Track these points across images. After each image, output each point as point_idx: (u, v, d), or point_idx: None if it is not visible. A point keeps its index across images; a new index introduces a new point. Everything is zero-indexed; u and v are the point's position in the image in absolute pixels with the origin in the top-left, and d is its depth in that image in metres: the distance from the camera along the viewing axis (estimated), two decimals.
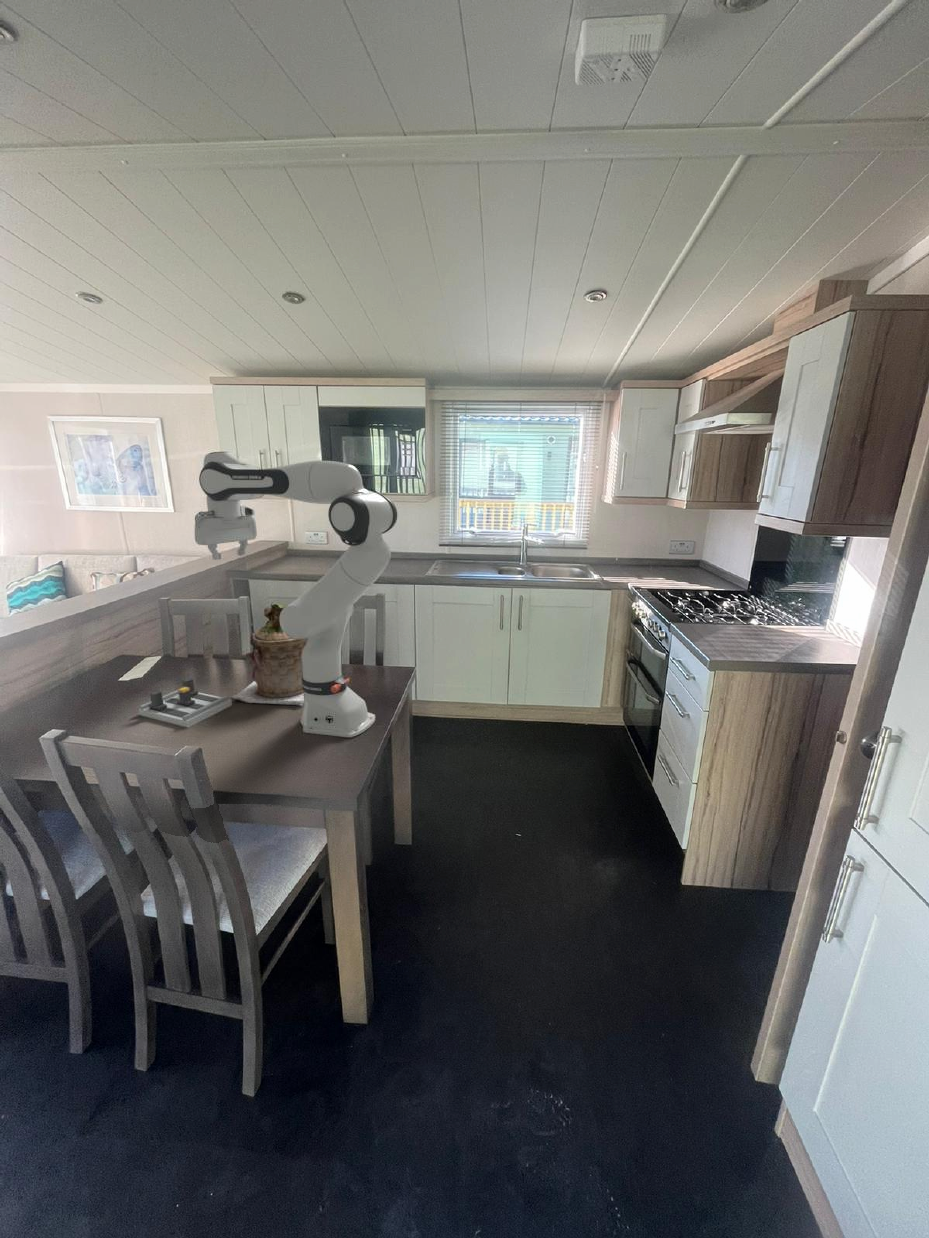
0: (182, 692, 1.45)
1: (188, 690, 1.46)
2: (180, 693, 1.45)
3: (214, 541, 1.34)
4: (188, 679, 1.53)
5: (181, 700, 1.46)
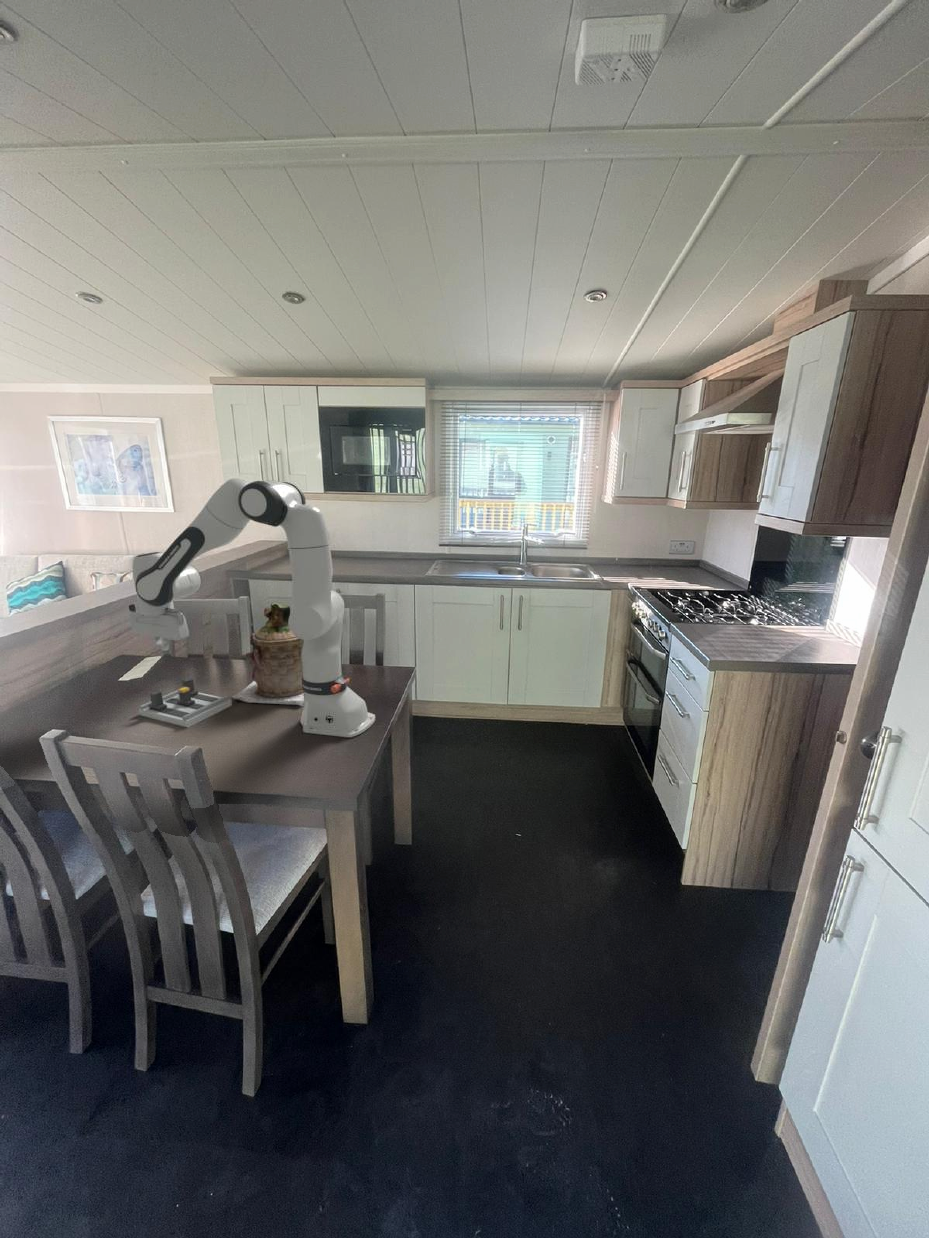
0: (182, 692, 1.45)
1: (188, 690, 1.46)
2: (180, 693, 1.45)
3: None
4: (188, 679, 1.53)
5: (181, 700, 1.46)
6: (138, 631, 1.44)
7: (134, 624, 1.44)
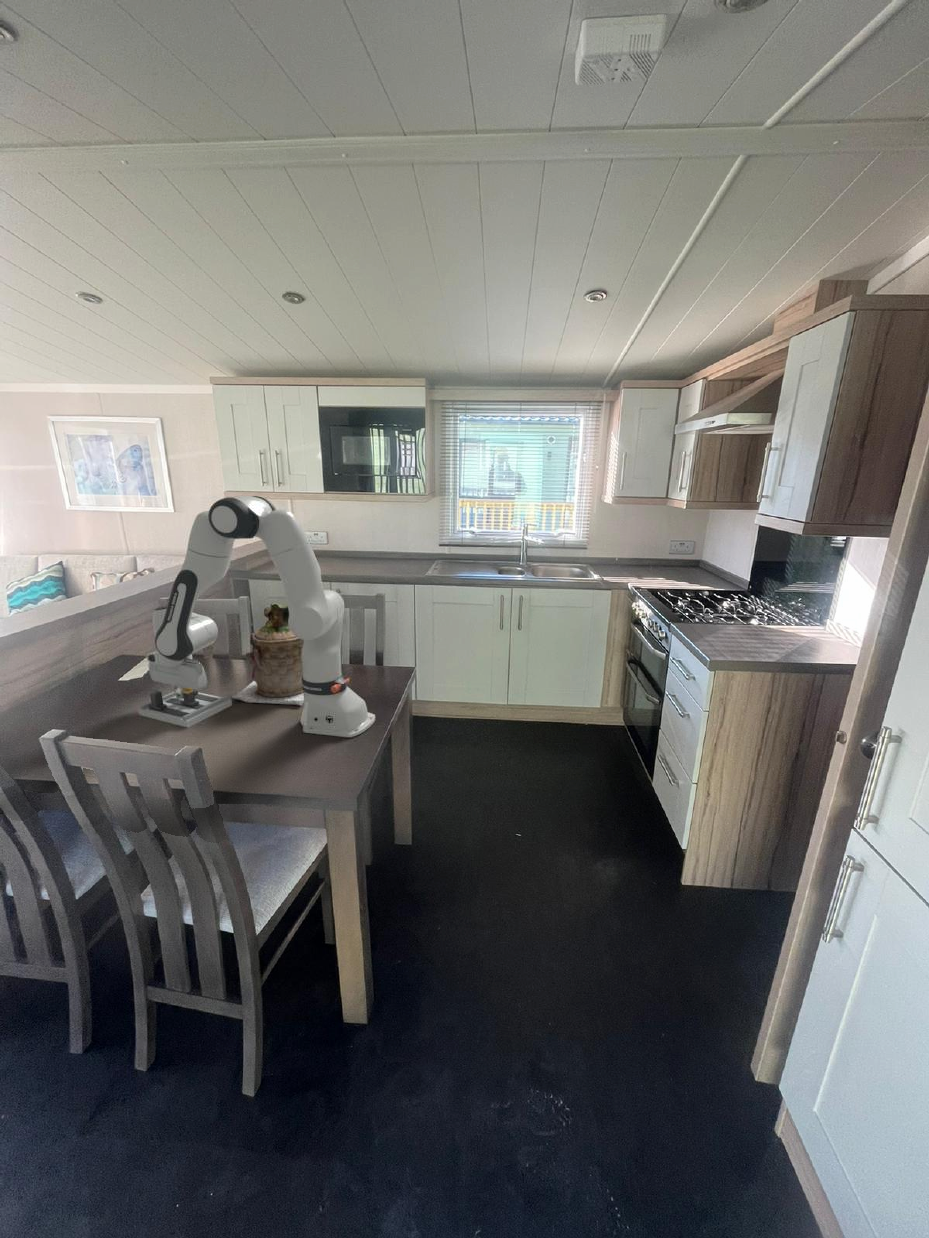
0: (186, 693, 1.44)
1: (192, 691, 1.46)
2: (184, 694, 1.45)
3: None
4: None
5: (185, 701, 1.46)
6: (157, 679, 1.47)
7: (153, 673, 1.47)
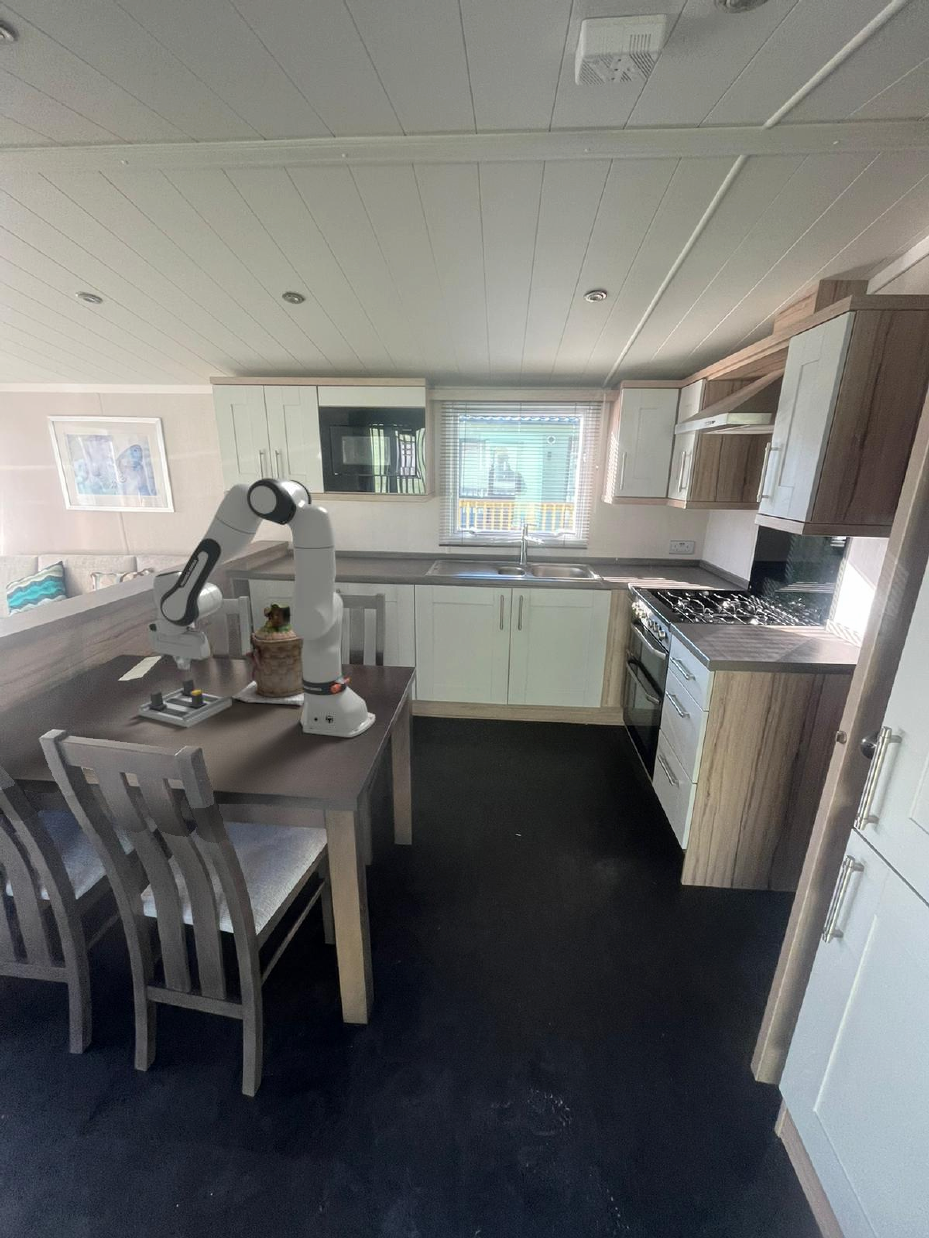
0: (194, 695, 1.43)
1: (200, 693, 1.45)
2: (192, 696, 1.44)
3: None
4: (188, 679, 1.53)
5: (193, 703, 1.44)
6: (159, 650, 1.43)
7: (155, 643, 1.43)
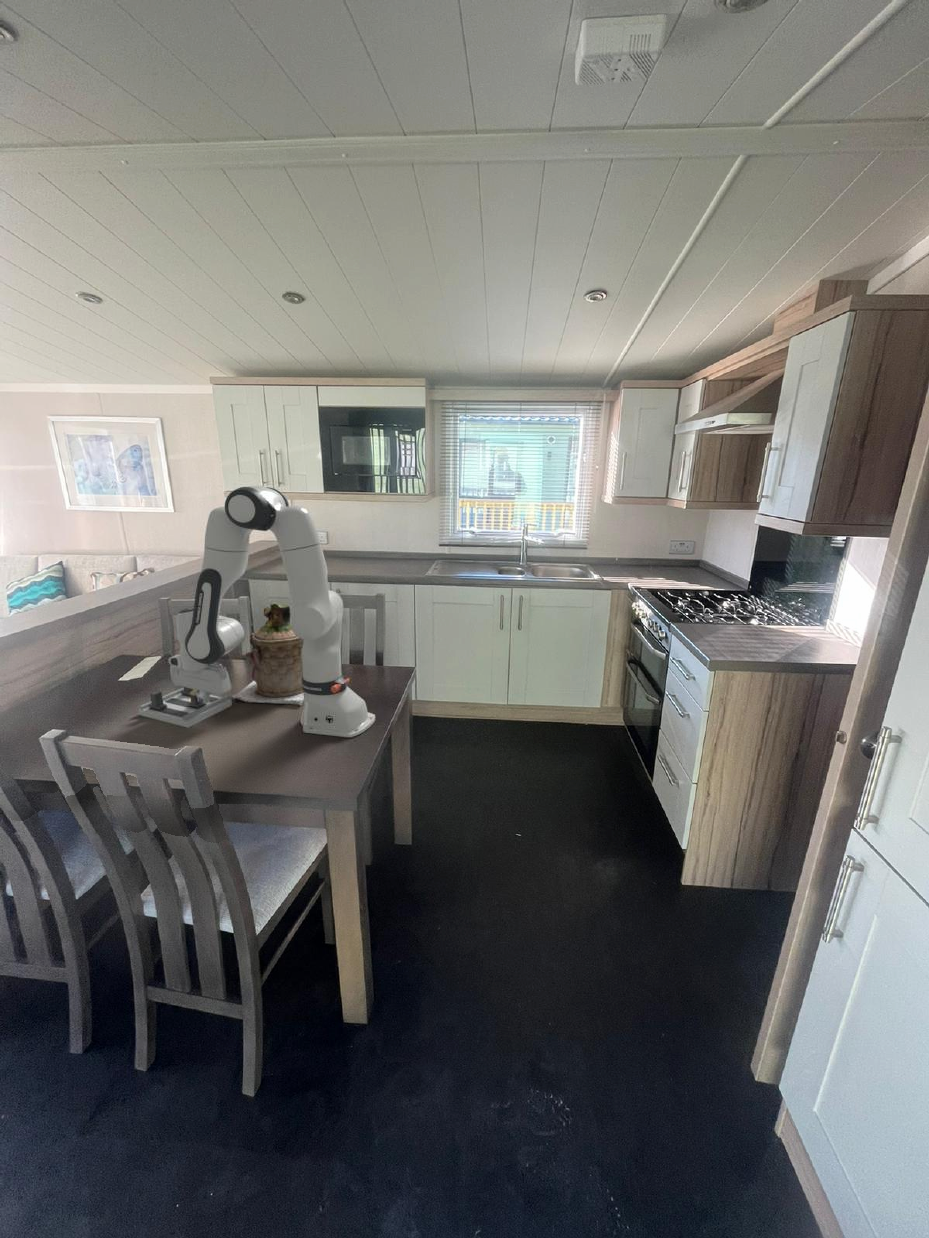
0: (193, 695, 1.43)
1: None
2: (191, 696, 1.44)
3: None
4: None
5: (192, 703, 1.45)
6: (179, 683, 1.43)
7: (175, 676, 1.43)
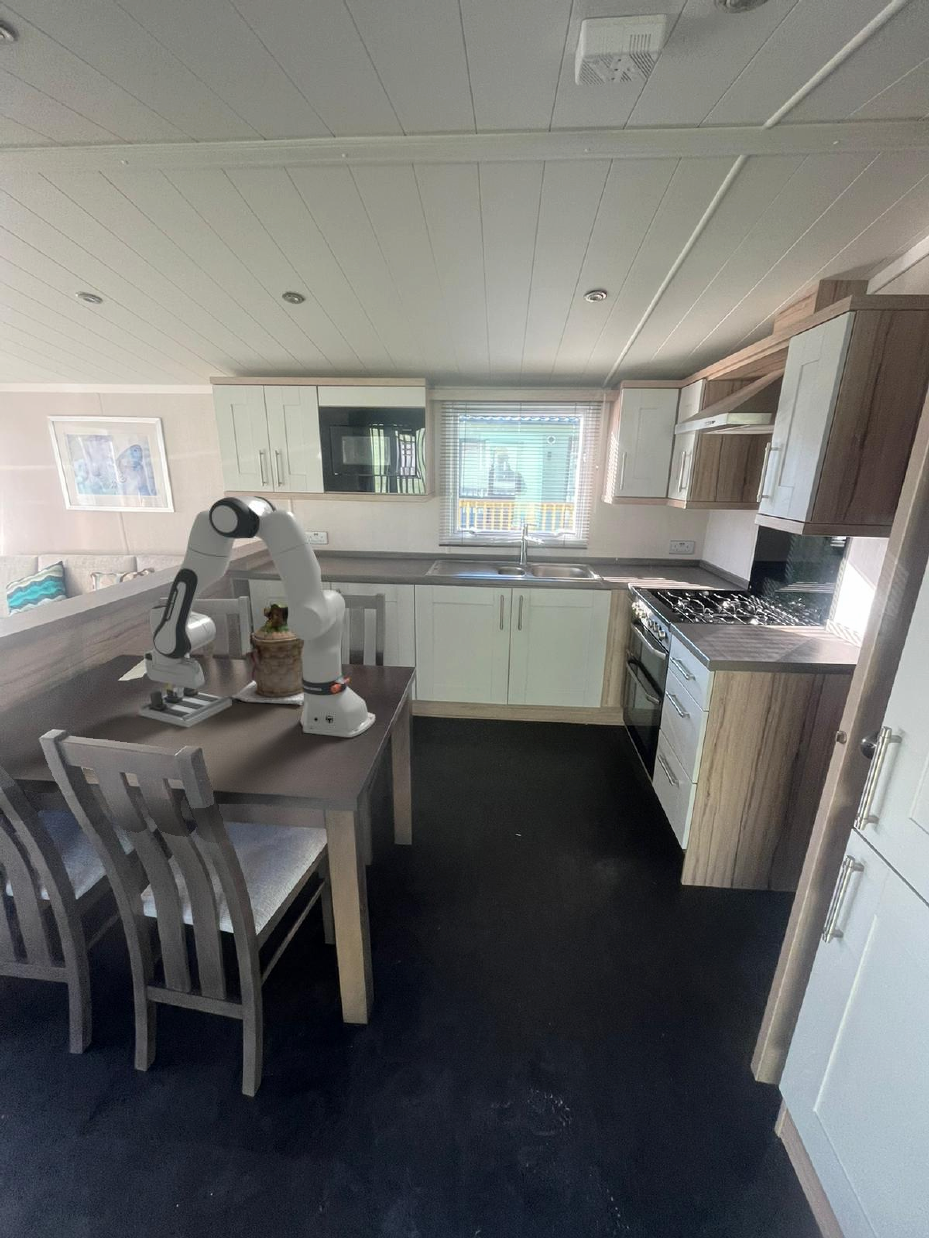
0: (169, 689, 1.47)
1: None
2: (167, 690, 1.47)
3: None
4: None
5: (169, 697, 1.48)
6: (154, 678, 1.47)
7: (150, 671, 1.47)
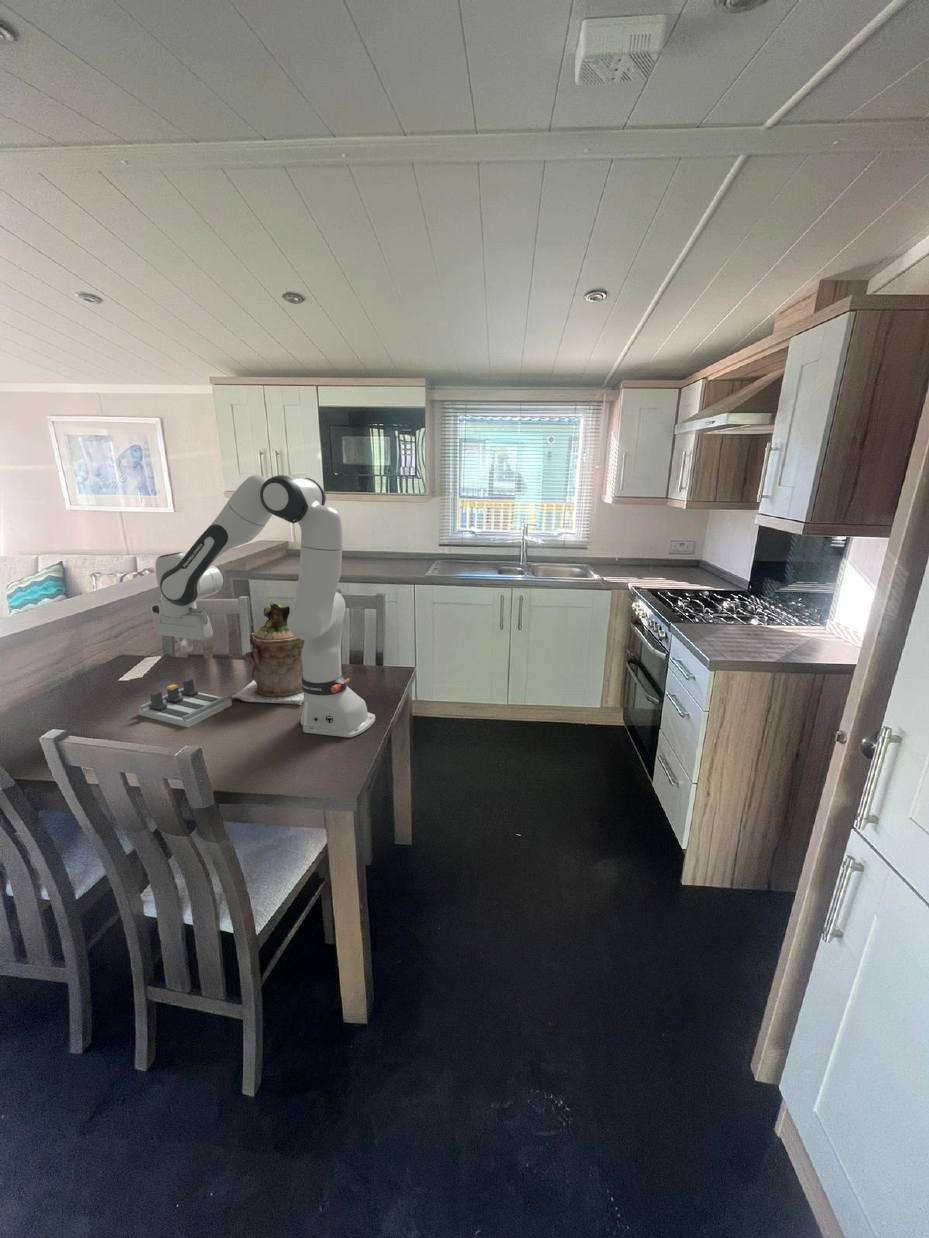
0: (170, 689, 1.47)
1: (176, 687, 1.48)
2: (168, 690, 1.47)
3: None
4: (188, 679, 1.53)
5: (169, 697, 1.48)
6: (162, 632, 1.44)
7: (158, 625, 1.44)
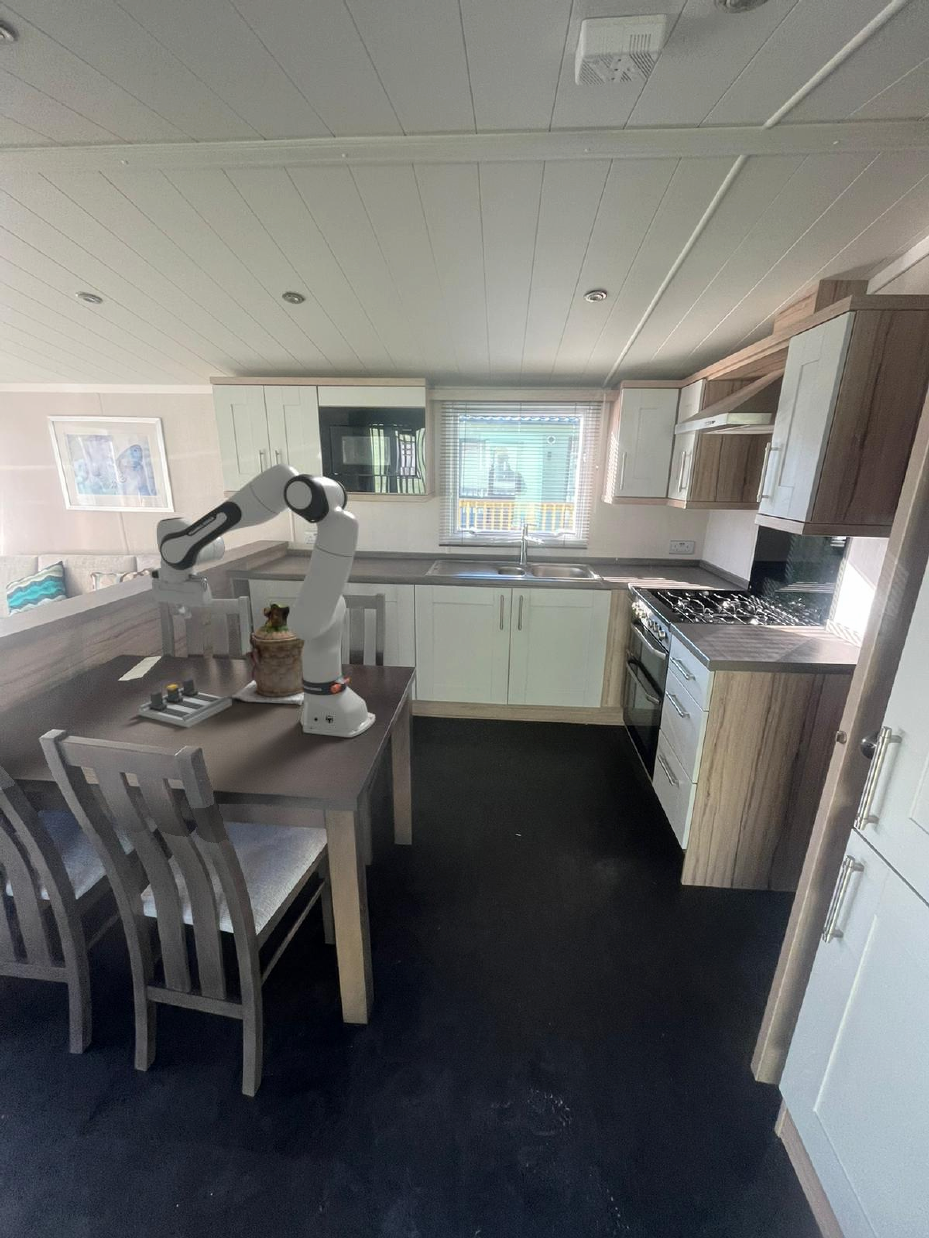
0: (170, 689, 1.47)
1: (176, 687, 1.48)
2: (168, 690, 1.47)
3: None
4: (188, 679, 1.53)
5: (169, 697, 1.48)
6: (160, 599, 1.43)
7: (156, 591, 1.43)
